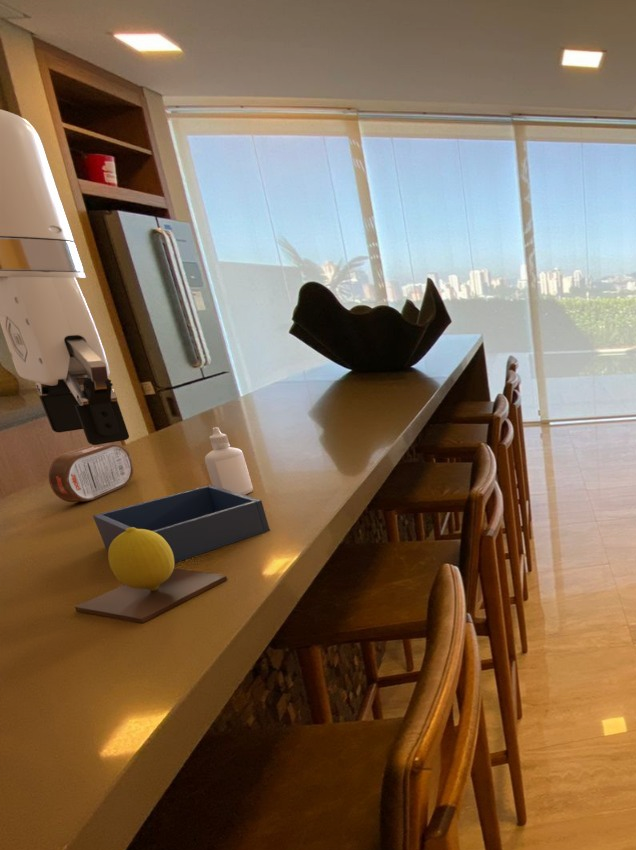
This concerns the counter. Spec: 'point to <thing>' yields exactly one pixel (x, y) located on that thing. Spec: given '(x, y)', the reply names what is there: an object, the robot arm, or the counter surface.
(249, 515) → the tote
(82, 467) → the tin
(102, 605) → the coaster
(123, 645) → the counter surface
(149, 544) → the lemon
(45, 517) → the counter surface
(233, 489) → the eye dropper bottle
